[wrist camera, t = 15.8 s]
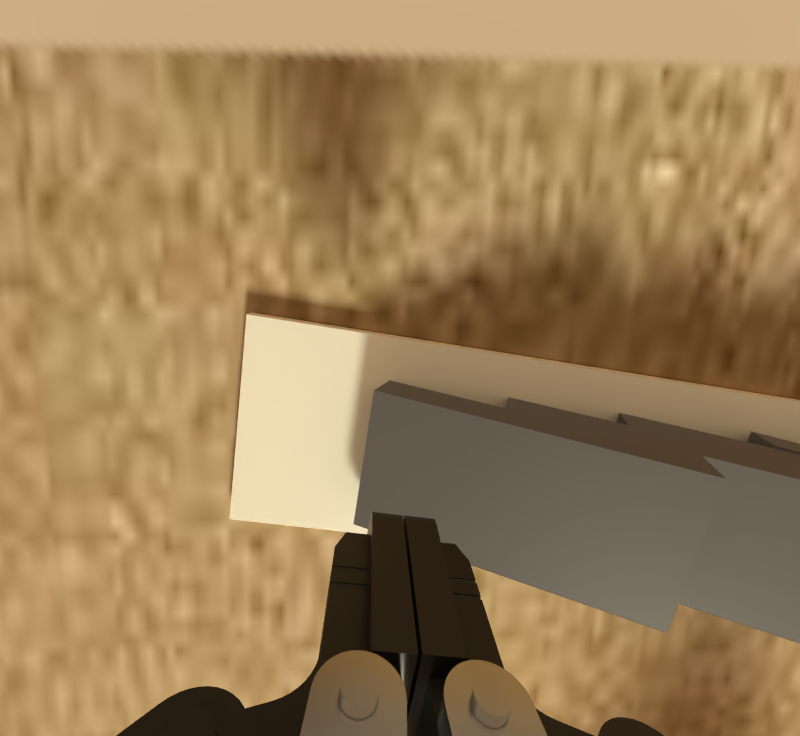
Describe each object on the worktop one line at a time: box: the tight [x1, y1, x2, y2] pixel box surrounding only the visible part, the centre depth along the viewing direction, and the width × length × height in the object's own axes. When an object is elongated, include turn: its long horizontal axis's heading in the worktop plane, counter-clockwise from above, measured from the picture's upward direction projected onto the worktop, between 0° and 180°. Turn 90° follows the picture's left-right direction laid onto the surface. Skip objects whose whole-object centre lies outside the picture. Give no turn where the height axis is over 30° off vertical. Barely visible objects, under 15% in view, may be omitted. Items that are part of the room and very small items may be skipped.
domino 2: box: [506, 397, 800, 643], centre depth 14 cm, size 2×5×10 cm
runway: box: [230, 312, 800, 534], centre depth 16 cm, size 25×8×1 cm, turn 80°
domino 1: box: [354, 380, 726, 633], centre depth 13 cm, size 2×5×10 cm
